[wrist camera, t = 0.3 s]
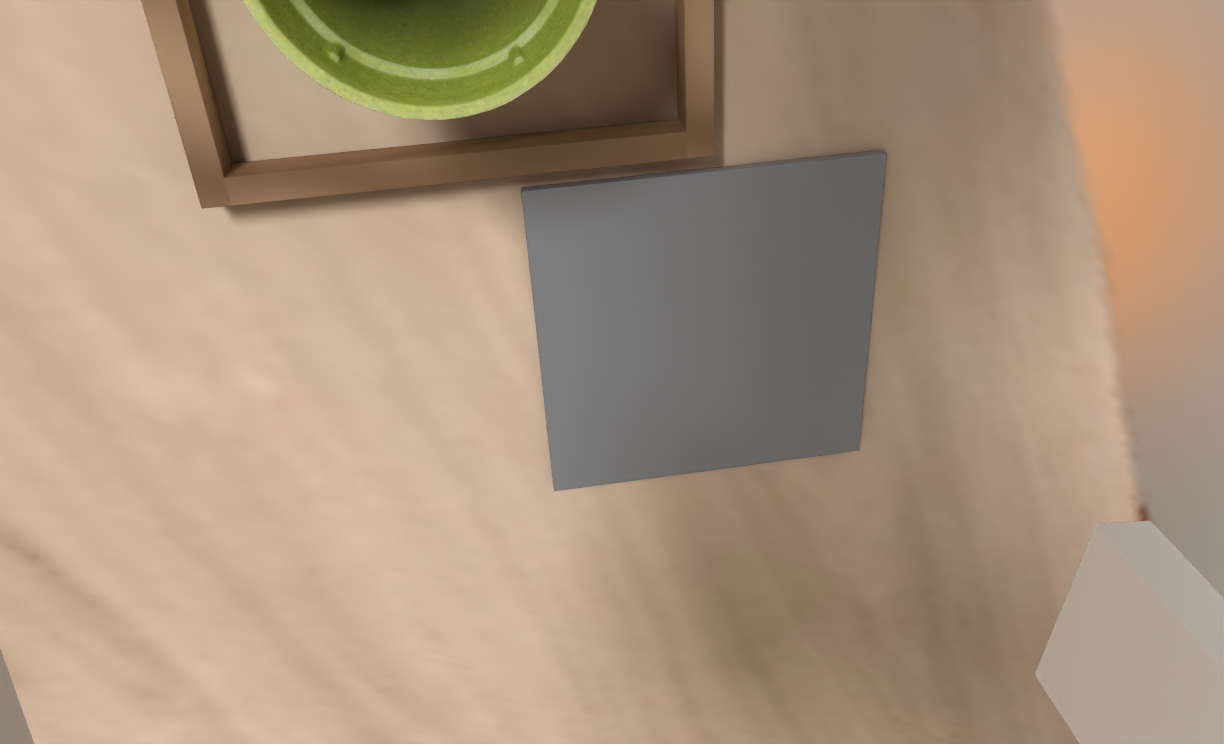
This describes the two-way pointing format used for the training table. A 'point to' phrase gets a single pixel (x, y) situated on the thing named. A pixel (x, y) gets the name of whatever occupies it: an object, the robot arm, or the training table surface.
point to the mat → (704, 315)
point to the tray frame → (427, 161)
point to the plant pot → (425, 49)
